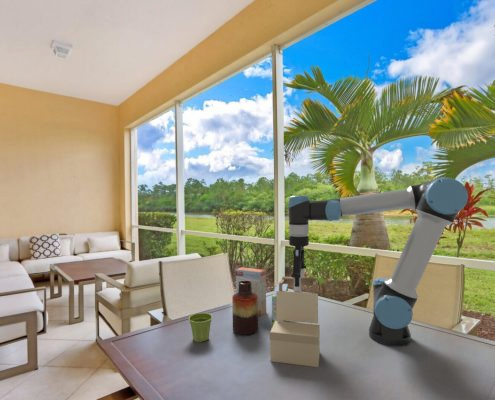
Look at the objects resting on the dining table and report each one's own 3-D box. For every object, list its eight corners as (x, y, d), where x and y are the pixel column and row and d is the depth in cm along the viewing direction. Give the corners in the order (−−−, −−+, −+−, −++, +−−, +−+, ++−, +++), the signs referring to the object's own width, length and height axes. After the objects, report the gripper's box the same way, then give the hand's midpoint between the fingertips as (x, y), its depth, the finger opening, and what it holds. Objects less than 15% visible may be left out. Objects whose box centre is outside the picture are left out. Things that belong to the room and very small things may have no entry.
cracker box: (266, 312, 154) (266, 269, 153) (260, 316, 149) (260, 272, 148) (242, 307, 161) (242, 266, 161) (235, 311, 156) (235, 268, 156)
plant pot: (206, 346, 120) (206, 323, 120) (184, 342, 123) (184, 320, 123) (216, 335, 129) (216, 314, 129) (196, 332, 132) (195, 311, 132)
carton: (319, 352, 114) (319, 324, 114) (318, 367, 104) (318, 337, 104) (275, 347, 118) (275, 320, 118) (270, 361, 108) (269, 332, 108)
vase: (262, 333, 131) (261, 283, 130) (237, 337, 127) (237, 286, 127) (252, 323, 141) (251, 277, 141) (229, 327, 137) (228, 280, 137)
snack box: (284, 334, 130) (284, 297, 130) (271, 332, 131) (270, 296, 131) (288, 314, 151) (288, 283, 151) (276, 314, 152) (276, 282, 152)
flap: (318, 323, 114) (319, 315, 123) (317, 282, 114) (319, 277, 123) (276, 319, 117) (280, 312, 127) (276, 280, 118) (280, 275, 127)
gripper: (293, 231, 137) (293, 280, 137) (284, 239, 113) (285, 298, 113) (310, 231, 135) (311, 281, 135) (305, 239, 111) (306, 300, 111)
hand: (299, 289), depth 124 cm, fingers open, 13 cm apart
